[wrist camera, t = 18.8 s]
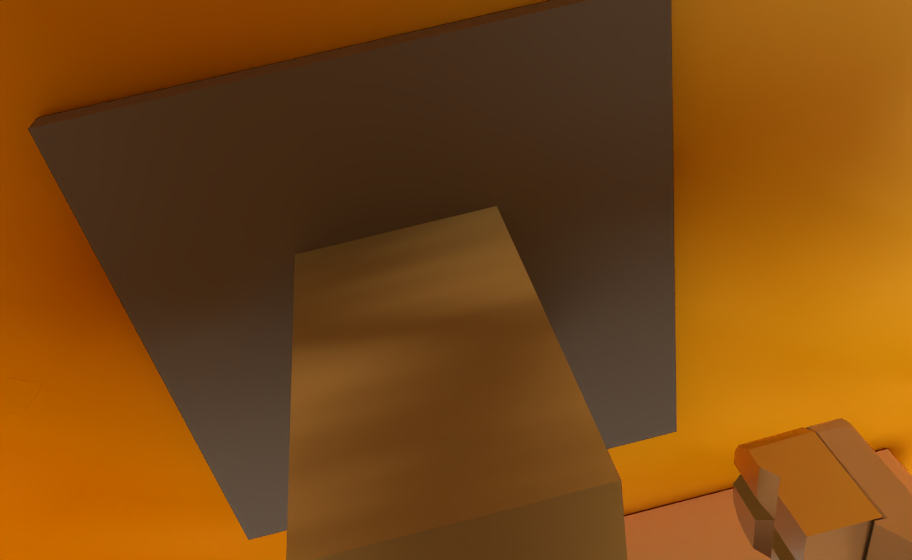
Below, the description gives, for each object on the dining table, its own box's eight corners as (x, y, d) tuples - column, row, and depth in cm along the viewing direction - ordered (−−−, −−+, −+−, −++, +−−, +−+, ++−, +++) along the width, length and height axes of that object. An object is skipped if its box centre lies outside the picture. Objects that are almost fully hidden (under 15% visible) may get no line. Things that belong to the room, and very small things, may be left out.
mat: (37, 117, 13) (28, 129, 12) (659, -25, 13) (670, -19, 13) (249, 523, 19) (248, 539, 19) (668, 417, 19) (676, 431, 19)
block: (348, 403, 17) (370, 730, 11) (295, 254, 14) (286, 566, 9) (522, 359, 17) (635, 658, 11) (496, 205, 15) (620, 479, 9)
